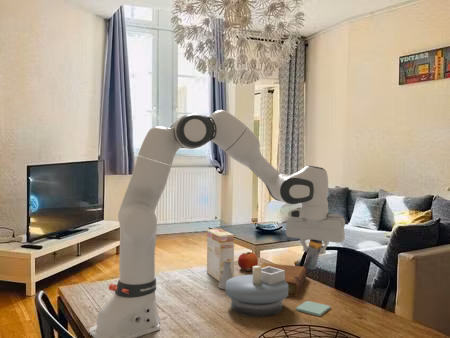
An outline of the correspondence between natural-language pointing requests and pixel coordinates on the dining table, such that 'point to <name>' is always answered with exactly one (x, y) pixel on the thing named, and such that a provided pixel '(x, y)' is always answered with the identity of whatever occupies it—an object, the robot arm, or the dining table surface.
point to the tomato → (247, 261)
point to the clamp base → (256, 308)
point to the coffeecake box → (219, 252)
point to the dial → (258, 286)
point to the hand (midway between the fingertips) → (314, 252)
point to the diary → (291, 276)
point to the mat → (313, 308)
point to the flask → (225, 275)
